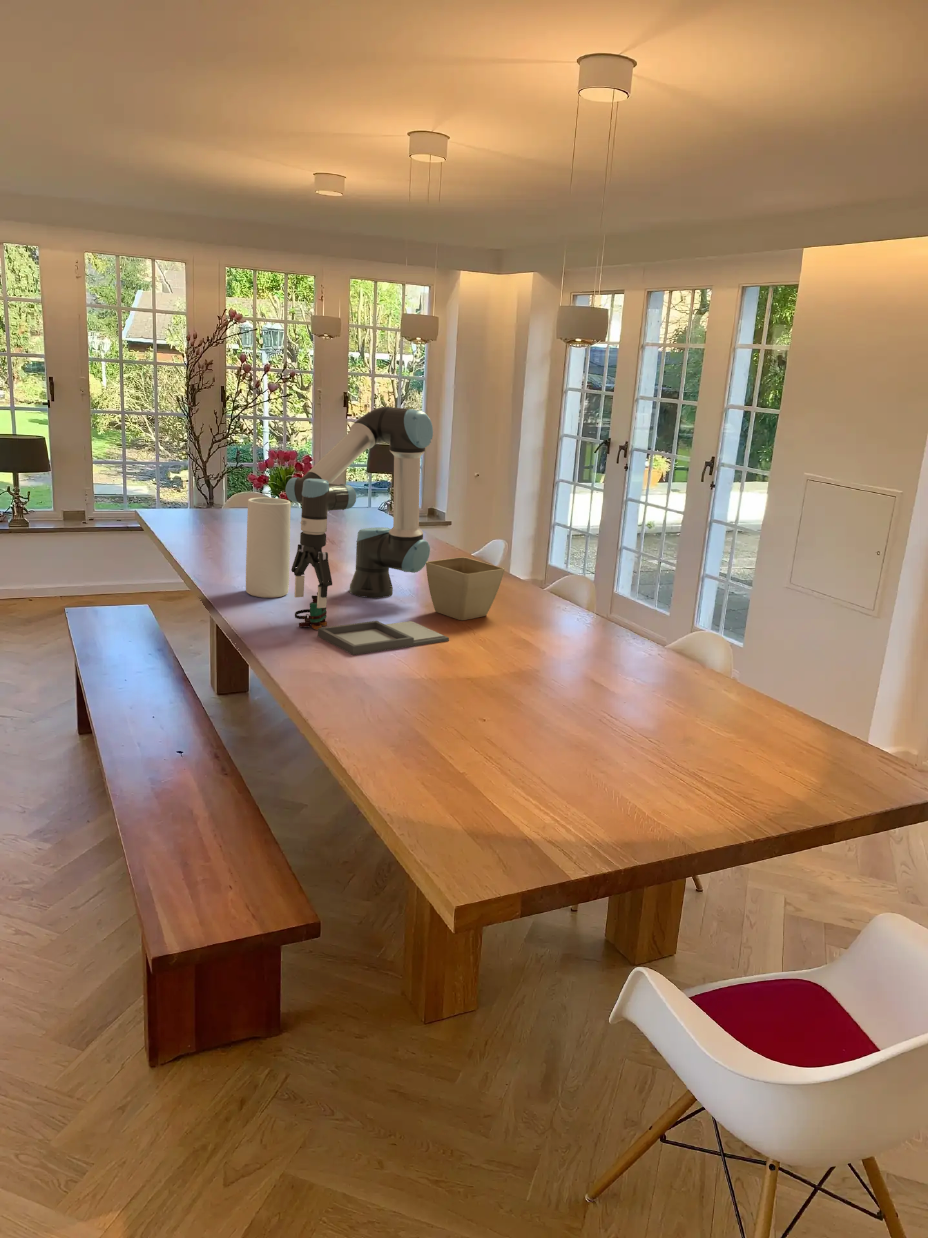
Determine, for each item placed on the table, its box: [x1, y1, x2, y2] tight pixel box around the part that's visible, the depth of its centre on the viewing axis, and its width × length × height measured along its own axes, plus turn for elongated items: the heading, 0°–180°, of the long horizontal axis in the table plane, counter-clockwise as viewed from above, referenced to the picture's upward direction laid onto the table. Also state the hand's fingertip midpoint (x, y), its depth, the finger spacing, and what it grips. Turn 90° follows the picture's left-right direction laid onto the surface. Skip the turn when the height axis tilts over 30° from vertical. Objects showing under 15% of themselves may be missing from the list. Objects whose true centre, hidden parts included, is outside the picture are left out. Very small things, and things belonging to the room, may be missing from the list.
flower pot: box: [425, 556, 505, 621], centre depth 299 cm, size 19×19×17 cm
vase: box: [245, 497, 292, 599], centre depth 303 cm, size 14×14×32 cm
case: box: [317, 620, 450, 656], centre depth 267 cm, size 33×19×2 cm, turn 129°
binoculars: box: [294, 591, 328, 631], centre depth 273 cm, size 9×11×10 cm
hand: (310, 602), depth 272 cm, fingers open, 13 cm apart
